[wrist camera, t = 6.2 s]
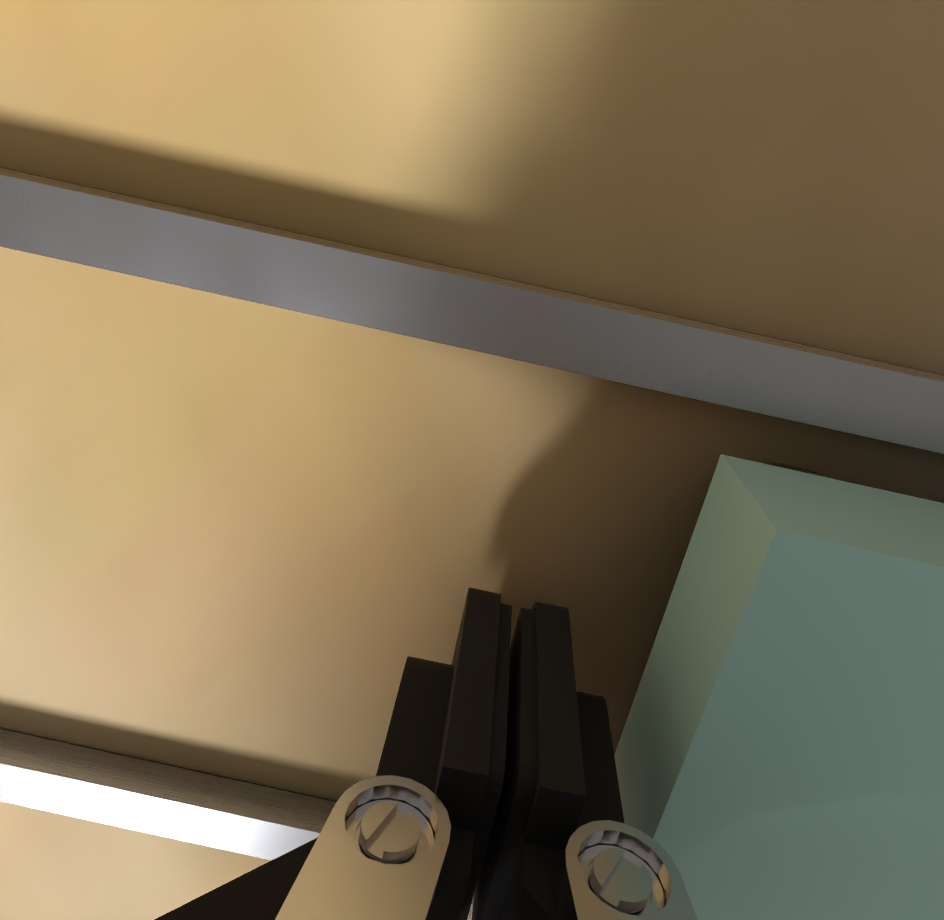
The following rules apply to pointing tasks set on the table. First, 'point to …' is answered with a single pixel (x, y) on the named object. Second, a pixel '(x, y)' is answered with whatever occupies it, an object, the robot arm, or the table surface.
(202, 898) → the robot arm
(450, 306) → the track
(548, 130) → the table surface
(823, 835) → the sage green box
